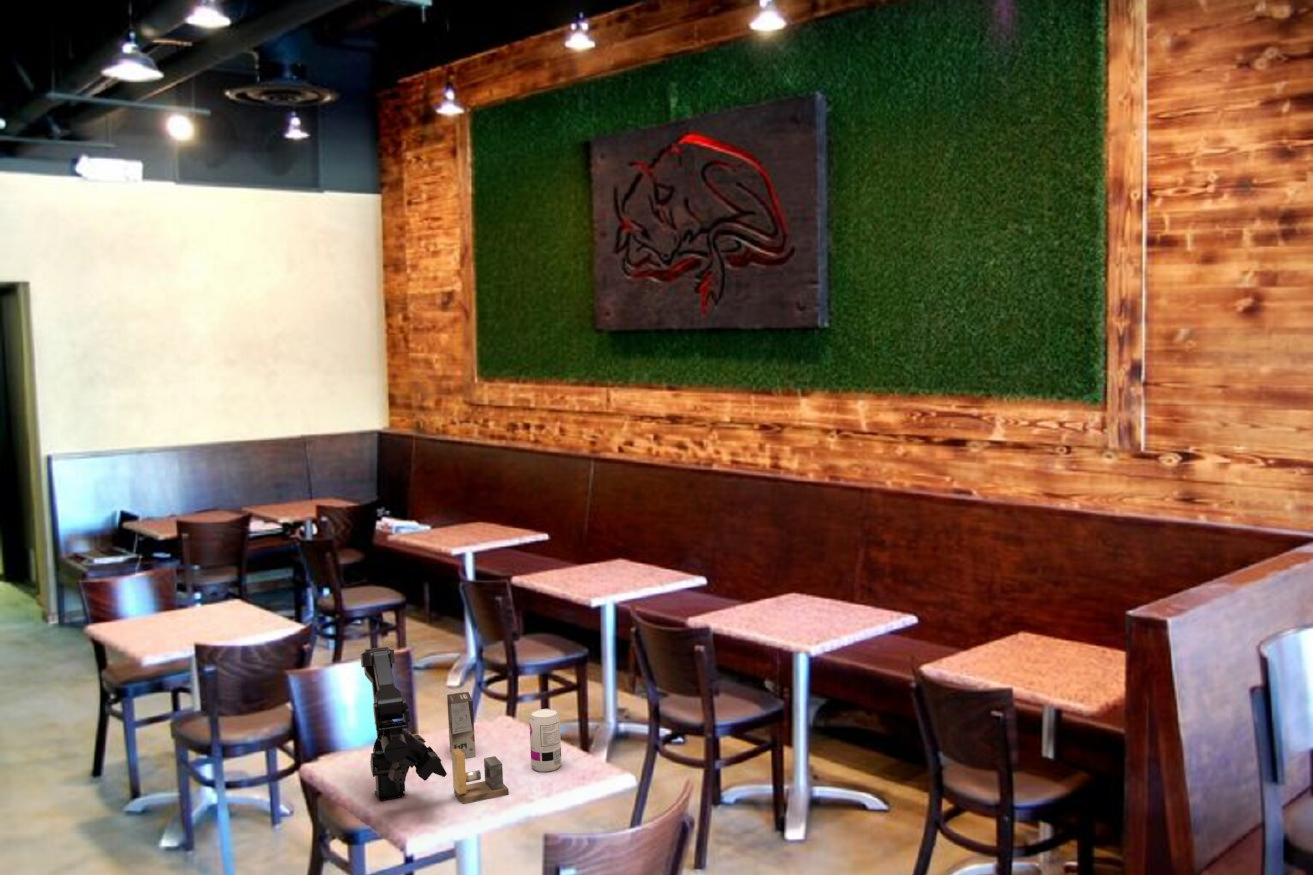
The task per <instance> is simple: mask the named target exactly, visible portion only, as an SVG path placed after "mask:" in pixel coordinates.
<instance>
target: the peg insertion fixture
mask: <svg viewBox="0 0 1313 875" xmlns="http://www.w3.org/2000/svg"><path fill="white" fill-rule="evenodd" d="M483 767H484V781H483V780H482V781H478V782H473V783H468V784H466V791H467V793H466V794H461V795H459V794H458V793H457V792H456V791H455V789H454V788H453V794H454V795H455V796H456V797H457V798H458V800H459V801H460V802H461V804H468V803H469V804H470V803H472V802H473V803H474V802H479V801H484V800H488V799H493V798H498V797H503V796H508V795H509V793H510V792H509V788H508V787H507V785H506V784H505V783H504V774H503V773H504V772H503V762H502V761H501V760H500V759H499V758H498V757H497V756H495V755H493V756H489V757H484V758H483ZM502 795H503V796H502Z"/></svg>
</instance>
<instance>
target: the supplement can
mask: <svg viewBox="0 0 1313 875" xmlns="http://www.w3.org/2000/svg"><path fill="white" fill-rule="evenodd" d="M528 720H529V723H528V724H529V742H530V743H529V744H530V745H529V746H530V747H529V748H530V766H531V768H532V769H533V770H535V771H536V772H541V773H544V772H545V773H546V772H547V773H548V772H553V771H556V770H559V768H560V767H561V765H562V744H561V720H560V715H559V713H558V711H557V710H555V709H551V708H541V709H536V710H533V711H532V712H531V713H530V716H529V719H528Z"/></svg>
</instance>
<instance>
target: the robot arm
mask: <svg viewBox="0 0 1313 875" xmlns="http://www.w3.org/2000/svg"><path fill="white" fill-rule="evenodd" d="M394 664H396V656H395V649H391V648H389V646H383V647H377V648H376V647H375V648H365V650H364V652H362V653H360V666H361V668H362V669H363V670H364V671H363V672H364V676H365V677H366V679H368V681H369V682H370V683H371V687H372V689H371V690H372V694H373V695H372V697H373V698H372V699H373V704H372V705H373V708H372V709H373V717H374V724H375V730H376V739H375V741H374V744H373V748H372V753H370V764H369V765H370V772H371V776H372V777H373V778H375V790H374V794H375V795H376V798H377V799H378V801H379V802H382V801H383V802H384V801H387V800H393V799H397V798H403V797H405V795H406V794H405V791H406V785H405V783H406V778H407V775H408V773H409V770H410V768H411V769H413V768H414V767H415V773H416V774H417V776H418V777H419V778H420V779H422V780H423V781H427V780H428V779H429V778H430V777H431V776H432V774H434V775H437V776H440V777H442V778H445V777H446V776H447V774H448V773H447V771H446V769H445V767H444V765H443V763H442V759H441V758H440V757H439V755H438V754H437V753H436V752H435V751H434V749H433V747H431V746H428V747H427V745H426V744H425V743H426V740H425V738H424V737H422V736H421V735H419V734H412V733H411V731H410V730H407V729H409V723H410V721H411V717H410V711H409V705H408V704H409V703H408V702H407V700H406V698H403V694H402V691H401V690H400V689H399V688H397V687H396V686H395V681H394V677H393V676H394V675H393V665H394ZM401 719H404V720H401ZM396 720H397V721H396Z"/></svg>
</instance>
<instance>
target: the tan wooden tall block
mask: <svg viewBox="0 0 1313 875" xmlns="http://www.w3.org/2000/svg"><path fill="white" fill-rule="evenodd" d="M451 764H452V765H451V766H452V784H453V785H452V787H453V790H454V789H455V791H456V792H457V793H458V794H459V795H461V794H466V793H467V791H466V785H467V783H470V782H475V781H480V780H481V779H482V773H481V771H480V769H478V770H472V771H468V772H467V771H466V758H465V754H464V753H463V752H462V751H461V750H460V749H453V750H452V754H451Z"/></svg>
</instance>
